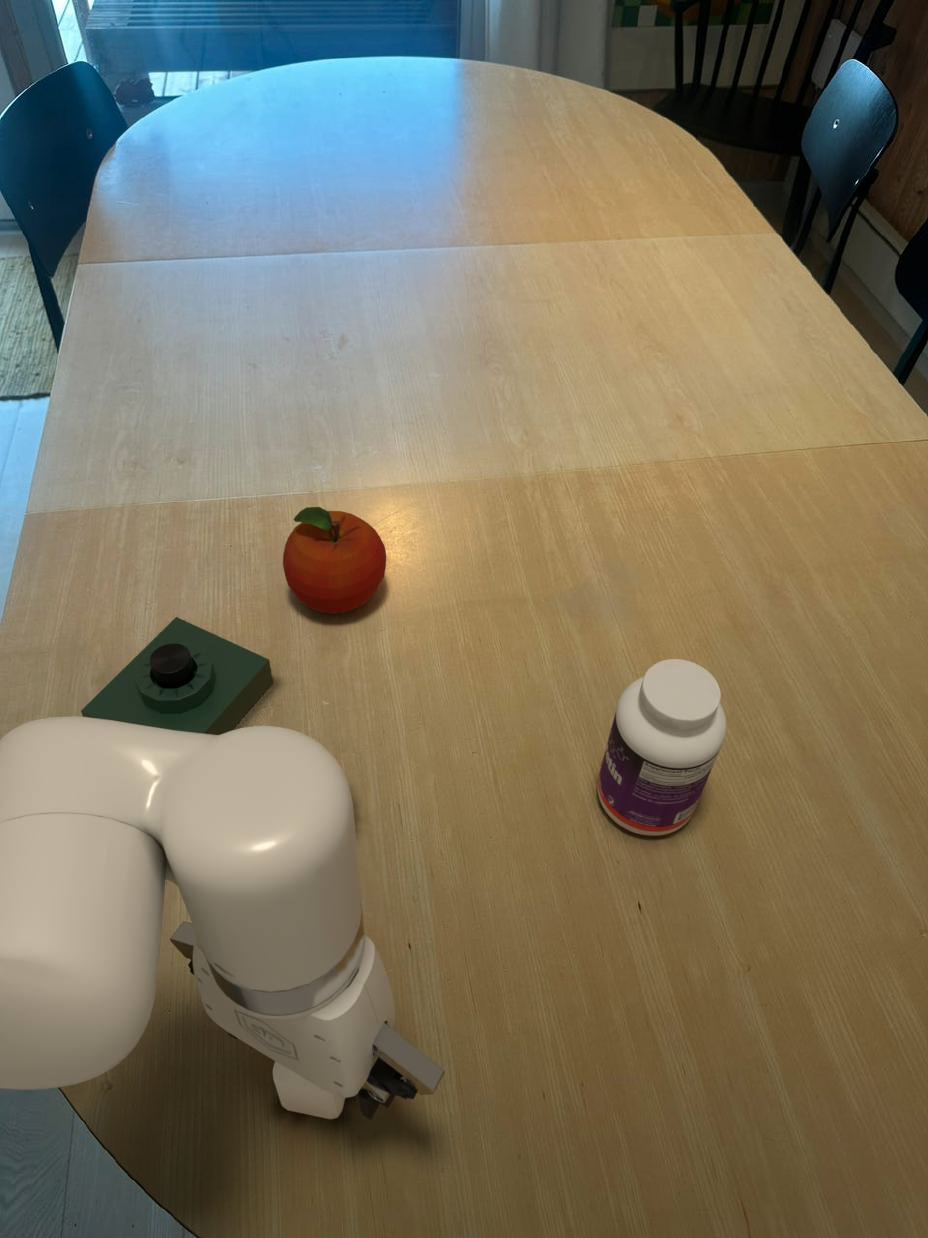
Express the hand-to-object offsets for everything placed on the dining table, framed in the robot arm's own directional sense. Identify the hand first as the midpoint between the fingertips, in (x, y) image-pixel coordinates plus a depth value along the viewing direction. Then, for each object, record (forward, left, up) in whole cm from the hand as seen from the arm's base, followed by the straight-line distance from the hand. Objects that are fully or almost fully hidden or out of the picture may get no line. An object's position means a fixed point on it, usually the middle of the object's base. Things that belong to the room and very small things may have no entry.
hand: (313, 1053), depth 59 cm
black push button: (+20, +27, -1) cm, 34 cm away
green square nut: (+20, +27, -6) cm, 34 cm away
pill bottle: (+31, -11, -6) cm, 33 cm away
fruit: (+38, +23, -6) cm, 45 cm away
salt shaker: (0, 0, -6) cm, 6 cm away
